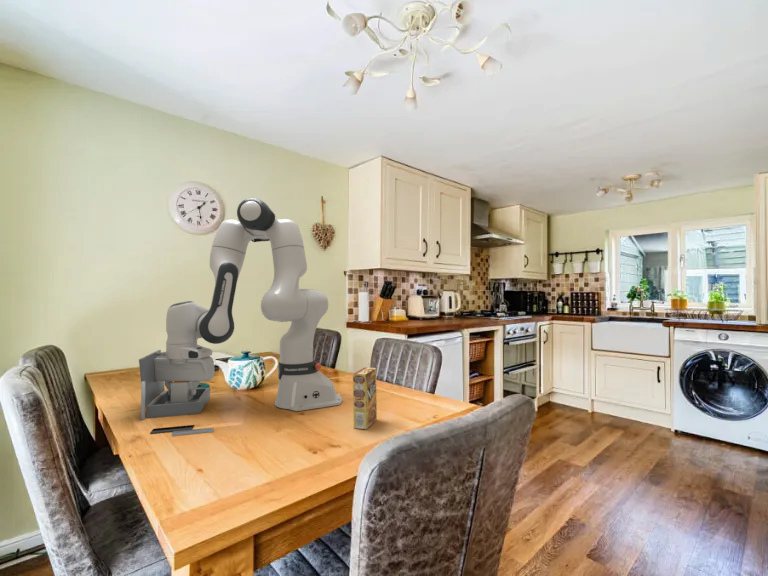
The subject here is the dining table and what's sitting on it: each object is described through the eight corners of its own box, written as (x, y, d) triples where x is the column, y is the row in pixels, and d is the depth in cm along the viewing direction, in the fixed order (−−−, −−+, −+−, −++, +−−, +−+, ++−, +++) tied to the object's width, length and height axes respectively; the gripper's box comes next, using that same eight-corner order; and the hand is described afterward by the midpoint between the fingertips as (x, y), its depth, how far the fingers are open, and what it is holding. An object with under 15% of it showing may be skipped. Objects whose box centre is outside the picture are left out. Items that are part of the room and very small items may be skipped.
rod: (213, 431, 101) (213, 427, 101) (213, 433, 100) (213, 428, 100) (173, 435, 98) (173, 431, 98) (171, 437, 97) (171, 433, 97)
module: (193, 397, 121) (192, 379, 121) (187, 401, 117) (187, 382, 117) (176, 398, 120) (176, 379, 121) (170, 402, 116) (170, 382, 116)
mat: (198, 418, 111) (198, 416, 111) (191, 430, 101) (191, 428, 101) (161, 421, 108) (161, 420, 108) (150, 434, 98) (150, 432, 98)
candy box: (366, 430, 101) (366, 374, 101) (352, 428, 102) (352, 373, 102) (377, 419, 109) (377, 367, 109) (363, 418, 110) (363, 366, 111)
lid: (160, 349, 125) (156, 350, 125) (141, 359, 108) (137, 359, 107) (164, 390, 125) (160, 391, 125) (146, 406, 108) (141, 407, 108)
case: (210, 400, 129) (210, 366, 129) (198, 418, 110) (198, 378, 110) (161, 404, 125) (161, 368, 125) (140, 423, 106) (140, 382, 106)
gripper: (144, 353, 117) (144, 397, 116) (206, 353, 115) (206, 397, 115) (158, 350, 123) (158, 392, 123) (217, 350, 121) (217, 392, 121)
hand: (182, 394), depth 119 cm, fingers closed on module, 5 cm apart
